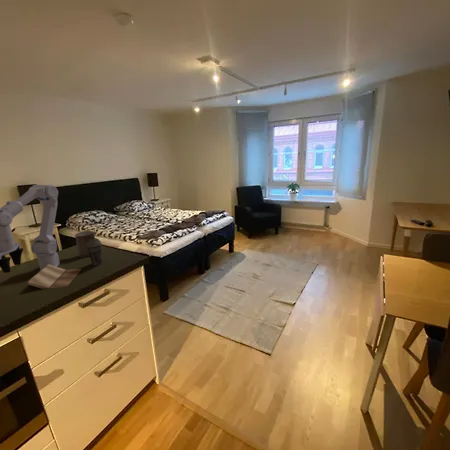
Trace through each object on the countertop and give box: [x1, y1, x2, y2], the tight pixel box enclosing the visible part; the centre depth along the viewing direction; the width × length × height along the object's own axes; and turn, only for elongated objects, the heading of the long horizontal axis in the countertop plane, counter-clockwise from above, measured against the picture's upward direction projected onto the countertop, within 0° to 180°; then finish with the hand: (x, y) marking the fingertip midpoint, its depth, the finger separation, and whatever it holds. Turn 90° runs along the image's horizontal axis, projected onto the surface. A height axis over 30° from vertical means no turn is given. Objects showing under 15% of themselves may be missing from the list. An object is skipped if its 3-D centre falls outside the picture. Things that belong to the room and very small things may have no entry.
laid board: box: [49, 268, 82, 289], centre depth 118 cm, size 18×7×1 cm, turn 10°
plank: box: [26, 264, 67, 290], centre depth 117 cm, size 18×8×1 cm, turn 10°
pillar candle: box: [74, 230, 94, 259], centre depth 146 cm, size 10×10×15 cm
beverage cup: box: [87, 229, 103, 267], centre depth 131 cm, size 7×7×20 cm
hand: (12, 268), depth 110 cm, fingers open, 7 cm apart
